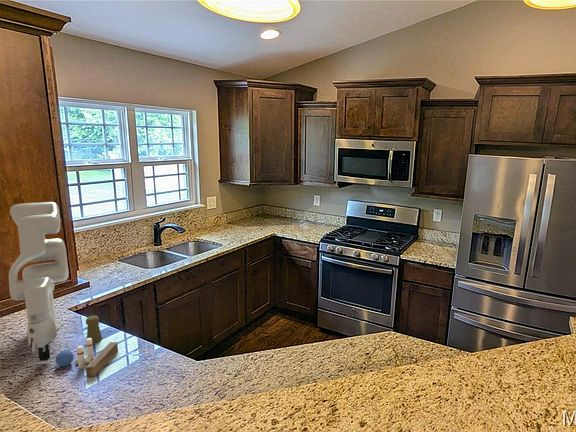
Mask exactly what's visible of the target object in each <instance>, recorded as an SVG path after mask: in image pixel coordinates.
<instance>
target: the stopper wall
mask: <svg viewBox="0 0 576 432" xmlns="http://www.w3.org/2000/svg"><path fill="white" fill-rule="evenodd" d="M118 346H119V345H118V342H117V341H114V342H113V341H109V342H108V344H107V345H105V347H104V348H103V349H102V350H100V352H99V353H98V354H97V355H96V356H94V357H95V358H94V359H93V360H92V361H91V362H90V363H87V365H85V371H86V372H85V373H86V377H87V378H96V376H97V375H99V374H100V372H101V371H102V370H103V369H104V368H105V367H106V365H107V364H108V363H109V362H110V361H111V360H112V359H111V358H114V356H115V355H116V354H117V353H118V352H119V348H118ZM110 359H111V360H110ZM109 360H110V361H109ZM102 368H103V369H102Z"/></svg>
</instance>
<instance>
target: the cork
mask: <svg viewBox="0 0 576 432" xmlns="http://www.w3.org/2000/svg"><path fill="white" fill-rule="evenodd" d="M99 322H100V317H99V316H98V315H90V316H88V317H87V318H86V319H85V325H87V329H86V330H87V332H86V339H87V338H92V344H93V345H94V344H98V343H99V342H101V341H102V340H103V337H102V333H101V329H100V324H99Z"/></svg>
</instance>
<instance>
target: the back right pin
mask: <svg viewBox="0 0 576 432" xmlns="http://www.w3.org/2000/svg"><path fill="white" fill-rule="evenodd" d="M76 354H77V355H76V356H77V358H78V364H77V365H78V369H79V370H84V369H86V364H85V358H86V357H85V351H84V346H83V345H78V346H77V347H76Z"/></svg>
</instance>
